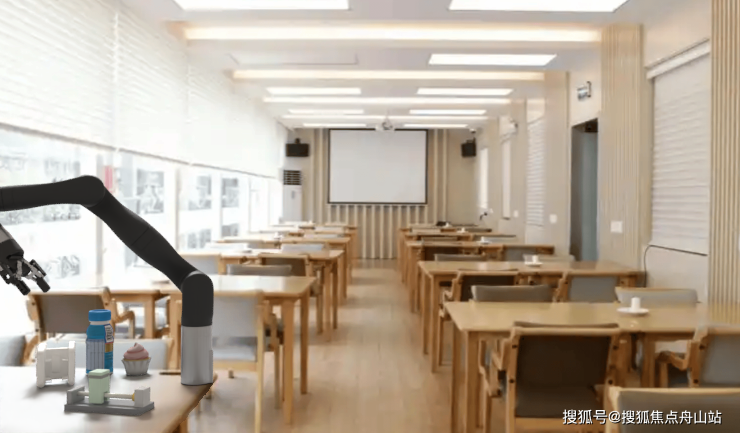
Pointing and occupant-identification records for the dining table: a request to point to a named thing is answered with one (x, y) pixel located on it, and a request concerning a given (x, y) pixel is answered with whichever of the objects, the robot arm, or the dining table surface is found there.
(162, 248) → the robot arm
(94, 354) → the beverage bottle
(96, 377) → the notched mint block
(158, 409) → the dining table surface
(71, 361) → the white plastic stand
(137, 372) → the cupcake
